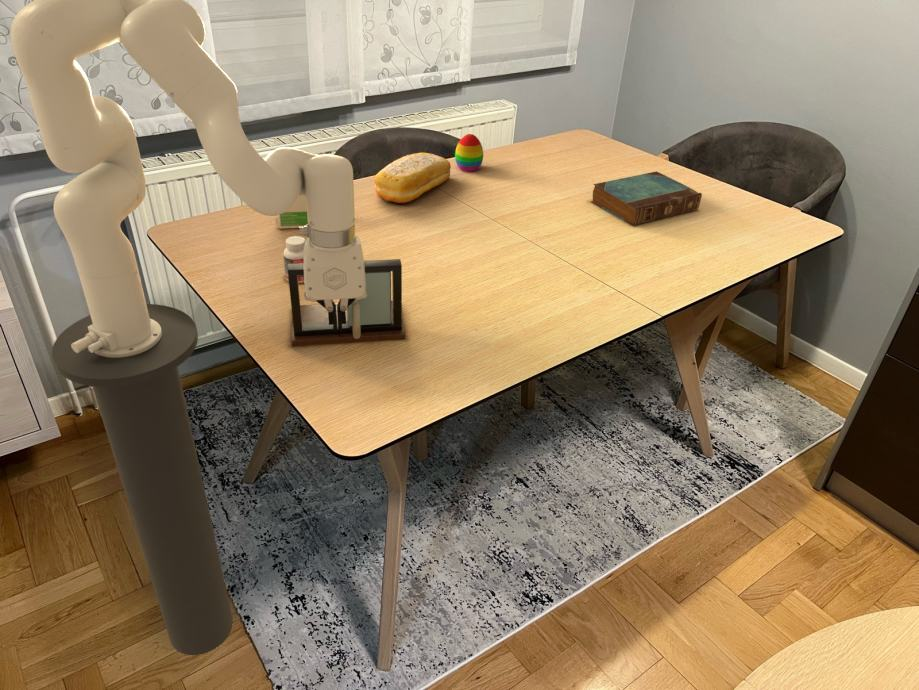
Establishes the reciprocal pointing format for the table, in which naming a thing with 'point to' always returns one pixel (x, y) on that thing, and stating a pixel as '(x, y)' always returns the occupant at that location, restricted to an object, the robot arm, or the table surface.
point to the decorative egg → (469, 153)
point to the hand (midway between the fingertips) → (337, 326)
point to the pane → (371, 303)
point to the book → (645, 198)
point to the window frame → (314, 319)
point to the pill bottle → (294, 254)
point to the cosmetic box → (294, 215)
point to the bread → (411, 177)
